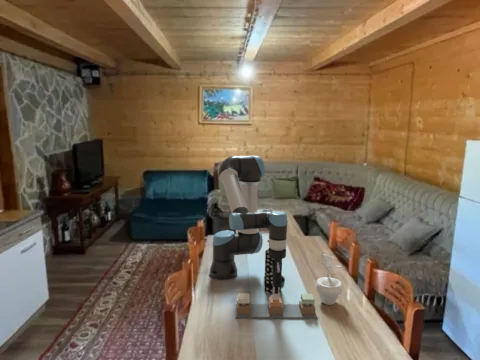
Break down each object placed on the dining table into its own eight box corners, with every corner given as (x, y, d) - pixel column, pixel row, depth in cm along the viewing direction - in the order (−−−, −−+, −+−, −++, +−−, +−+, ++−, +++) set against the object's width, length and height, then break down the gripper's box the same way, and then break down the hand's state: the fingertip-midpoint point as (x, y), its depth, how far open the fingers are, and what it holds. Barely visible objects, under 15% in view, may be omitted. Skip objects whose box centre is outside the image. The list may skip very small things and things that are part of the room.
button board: (235, 305, 167) (235, 297, 166) (312, 306, 168) (312, 298, 167) (235, 318, 156) (235, 310, 155) (317, 319, 157) (318, 310, 156)
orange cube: (269, 307, 164) (269, 296, 163) (280, 307, 164) (280, 296, 163) (270, 313, 159) (270, 302, 158) (281, 313, 159) (282, 302, 158)
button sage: (300, 304, 164) (300, 293, 163) (311, 304, 164) (312, 294, 163) (302, 310, 159) (303, 299, 158) (314, 310, 159) (314, 299, 158)
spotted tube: (271, 284, 188) (272, 247, 185) (284, 290, 182) (285, 252, 179) (260, 289, 183) (261, 251, 179) (273, 295, 177) (274, 256, 173)
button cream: (237, 304, 164) (238, 293, 163) (249, 304, 164) (249, 293, 163) (238, 310, 159) (238, 299, 158) (249, 310, 159) (249, 299, 158)
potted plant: (310, 298, 175) (313, 248, 170) (330, 294, 179) (333, 245, 175) (326, 311, 163) (329, 257, 159) (347, 306, 168) (351, 254, 164)
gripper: (267, 242, 163) (265, 292, 167) (270, 253, 150) (268, 306, 154) (284, 242, 163) (282, 292, 167) (288, 253, 151) (286, 306, 154)
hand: (275, 299), depth 161 cm, fingers closed
